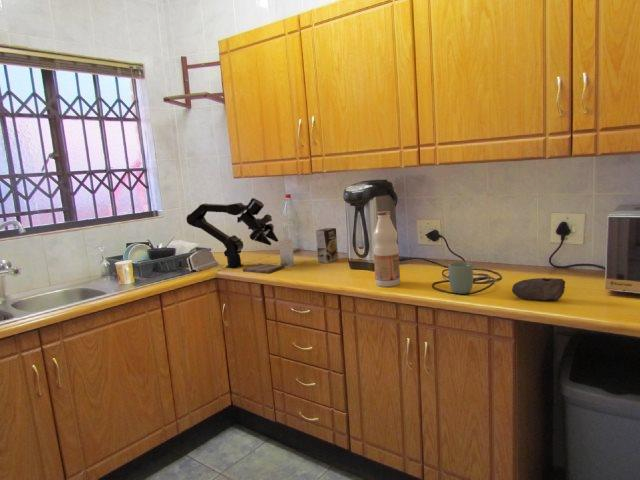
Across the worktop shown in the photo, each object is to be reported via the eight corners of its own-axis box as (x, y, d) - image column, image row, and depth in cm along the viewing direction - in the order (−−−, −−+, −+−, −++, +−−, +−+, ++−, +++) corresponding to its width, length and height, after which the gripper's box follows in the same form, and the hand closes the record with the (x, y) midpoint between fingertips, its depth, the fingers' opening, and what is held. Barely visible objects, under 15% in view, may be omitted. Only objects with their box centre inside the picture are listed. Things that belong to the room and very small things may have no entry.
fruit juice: (378, 288, 167) (373, 214, 163) (373, 282, 177) (368, 211, 172) (403, 285, 168) (399, 211, 164) (396, 279, 177) (392, 209, 173)
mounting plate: (242, 271, 216) (242, 269, 216) (259, 265, 226) (259, 263, 226) (267, 273, 207) (267, 271, 207) (284, 267, 216) (284, 265, 216)
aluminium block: (281, 266, 219) (278, 240, 217) (284, 264, 224) (282, 239, 222) (290, 266, 218) (288, 240, 216) (294, 264, 223) (291, 238, 221)
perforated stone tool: (511, 300, 142) (510, 279, 140) (512, 295, 146) (512, 275, 145) (565, 303, 134) (565, 281, 133) (565, 298, 139) (565, 277, 138)
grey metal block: (197, 271, 224) (189, 253, 224) (190, 274, 226) (183, 256, 226) (219, 264, 238) (212, 247, 238) (213, 267, 241) (206, 249, 241)
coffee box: (328, 263, 219) (325, 230, 216) (317, 262, 223) (315, 230, 220) (338, 259, 226) (336, 227, 223) (328, 258, 230) (326, 227, 227)
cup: (467, 296, 149) (467, 267, 147) (445, 294, 154) (444, 265, 152) (477, 290, 154) (476, 262, 153) (455, 288, 159) (454, 260, 158)
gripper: (252, 212, 211) (277, 234, 210) (268, 207, 229) (290, 228, 227) (239, 229, 214) (263, 251, 213) (255, 223, 232) (277, 244, 231)
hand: (274, 242), depth 221 cm, fingers open, 9 cm apart
